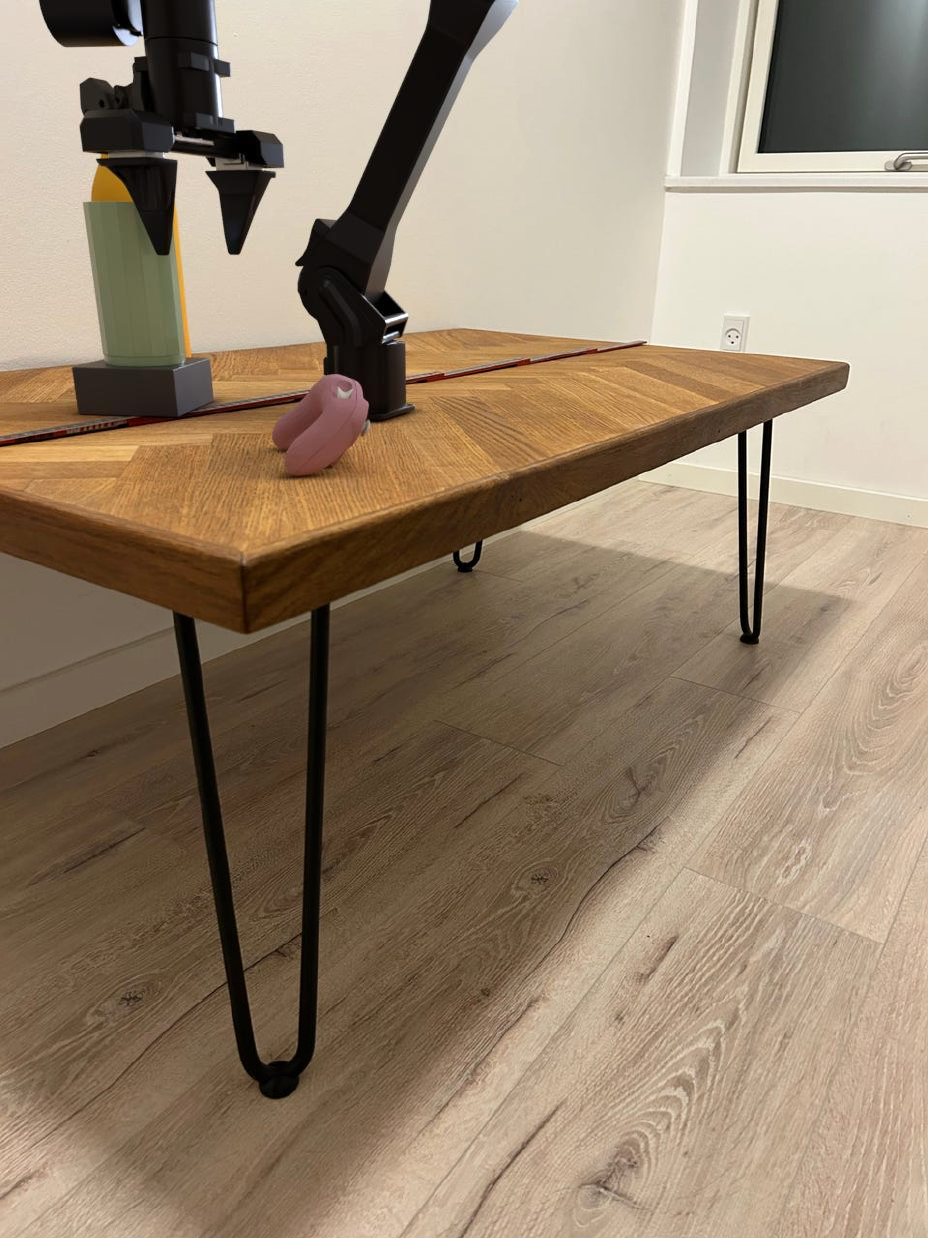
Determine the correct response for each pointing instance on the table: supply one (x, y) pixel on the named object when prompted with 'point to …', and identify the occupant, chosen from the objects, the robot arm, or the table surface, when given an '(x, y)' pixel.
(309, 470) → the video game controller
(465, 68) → the robot arm
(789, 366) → the table surface
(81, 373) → the block
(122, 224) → the cup
